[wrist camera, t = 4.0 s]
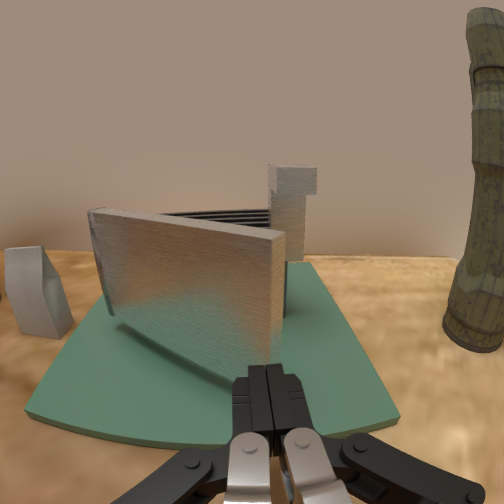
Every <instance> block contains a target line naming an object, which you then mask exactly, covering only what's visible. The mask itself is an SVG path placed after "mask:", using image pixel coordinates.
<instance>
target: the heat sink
mask: <svg viewBox="0 0 504 504" xmlns="http://www.w3.org/2000/svg"><path fill="white" fill-rule="evenodd" d="M316 185H317V168H315V167H311V166H306V165H301V164H268V209H244V210H218V211H198V212H179V213H163V214H160V215H168V216H176V217H184V218H192V219H199V220H207V221H214V222H222V223H229V224H236V225H243V226H250V227H257V228H264V229H271V230H277V231H284V232H285V272H284V301H283V324H282V344H281V362H280V363H282V366H283V370H284V374H292V373H294V374H295V375H296V376H297V377H298V378H299V379H300V380H301V383H302V386H303V390H304V394H305V397H306V401H307V405H308V408H309V412H310V416H311V419H312V423H313V426H314V428H315V430H316V431H317V432H318V433H319V434H321V435H323V436H325V437H328V438H338V439H342V438H346V437H348V436H350V435H351V434H354V433H367V432H371V431H374V430H378V429H382V428H385V427H388V426H392V425H395V424H397V422H398V420H399V418H400V417H401V416H400V414H399V412H398V410H397V408H396V406H395V404H394V403H393V401H392V399H391V397H390V395H389V393H388V392H387V390H386V388H385V386H384V384H383V383H382V381H381V379H380V377H379V376H378V374H377V372H376V370H375V368H374V367H373V365H372V363H371V361H370V360H369V358H368V356H367V355H366V353H365V351H364V349H363V348H362V346H361V344H360V343H359V341H358V339H357V338H356V336H355V334H354V332H353V331H352V329H351V327H350V326H349V324H348V322H347V321H346V319H345V318H344V316H343V314H342V313H341V311H340V309H339V308H338V306H337V304H336V303H335V301H334V300H333V298H332V296H331V295H330V293H329V292H328V290H327V288H326V287H325V285H324V284H323V282H322V280H321V279H320V277H319V276H318V274H317V273H316V271H315V269H314V268H313V266H312V265H311V263H310V262H301V263H288V262H291V261H303V259H304V237H305V235H304V234H305V207H306V195H309V194H310V195H315V194H316V188H317V187H316ZM233 383H234V381H232V380H230V379H228V378H226V377H224V376H221V375H219V374H217V373H215V372H213V371H211V370H209V369H207V368H205V367H203V366H201V365H199V364H197V363H195V362H193V361H191V360H189V359H187V358H185V357H183V356H181V355H179V354H178V353H176V352H174V351H172V350H170V349H168V348H167V347H165V346H163V345H161V344H159V343H158V342H156V341H154V340H152V339H151V338H149V337H147V336H146V335H144V334H142V333H141V332H139V331H137V330H136V329H134V328H132V327H131V326H129V325H127V324H126V323H124V322H123V321H121V320H120V319H118V318H116V317H115V316H111V315H109V313H108V309H107V306H106V302H105V298H104V294H102V295H101V297H100V298H99V299H98V300H97V302H96V303H95V304H94V306H93V307H92V308H91V310H90V311H89V312H88V313H87V315H86V316H85V317H84V319H83V320H82V321H81V323H80V324H79V326H78V327H77V328H76V330H75V331H74V332H73V334H72V335H71V337H70V338H69V339H68V341H67V342H66V344H65V345H64V347H63V348H62V349H61V351H60V352H59V354H58V355H57V357H56V358H55V360H54V361H53V363H52V364H51V366H50V367H49V369H48V370H47V372H46V373H45V375H44V377H43V378H42V380H41V381H40V383H39V384H38V386H37V388H36V389H35V391H34V393H33V394H32V396H31V398H30V399H29V401H28V403H27V404H26V406H25V408H24V411H25V412H26V413H27V415H28V416H29V417H30V418H33V419H35V420H38V421H41V422H44V423H47V424H50V425H53V426H56V427H59V428H62V429H66V430H69V431H73V432H76V433H80V434H84V435H88V436H92V437H96V438H101V439H105V440H110V441H115V442H121V443H127V444H133V445H140V446H147V447H155V448H164V449H176V450H183V449H185V448H199V449H201V450H203V451H211V450H215V449H218V448H221V447H223V446H224V445H226V444H227V443H228V442H229V441H230V439H231V437H232V433H233V428H232V385H233Z"/></svg>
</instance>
